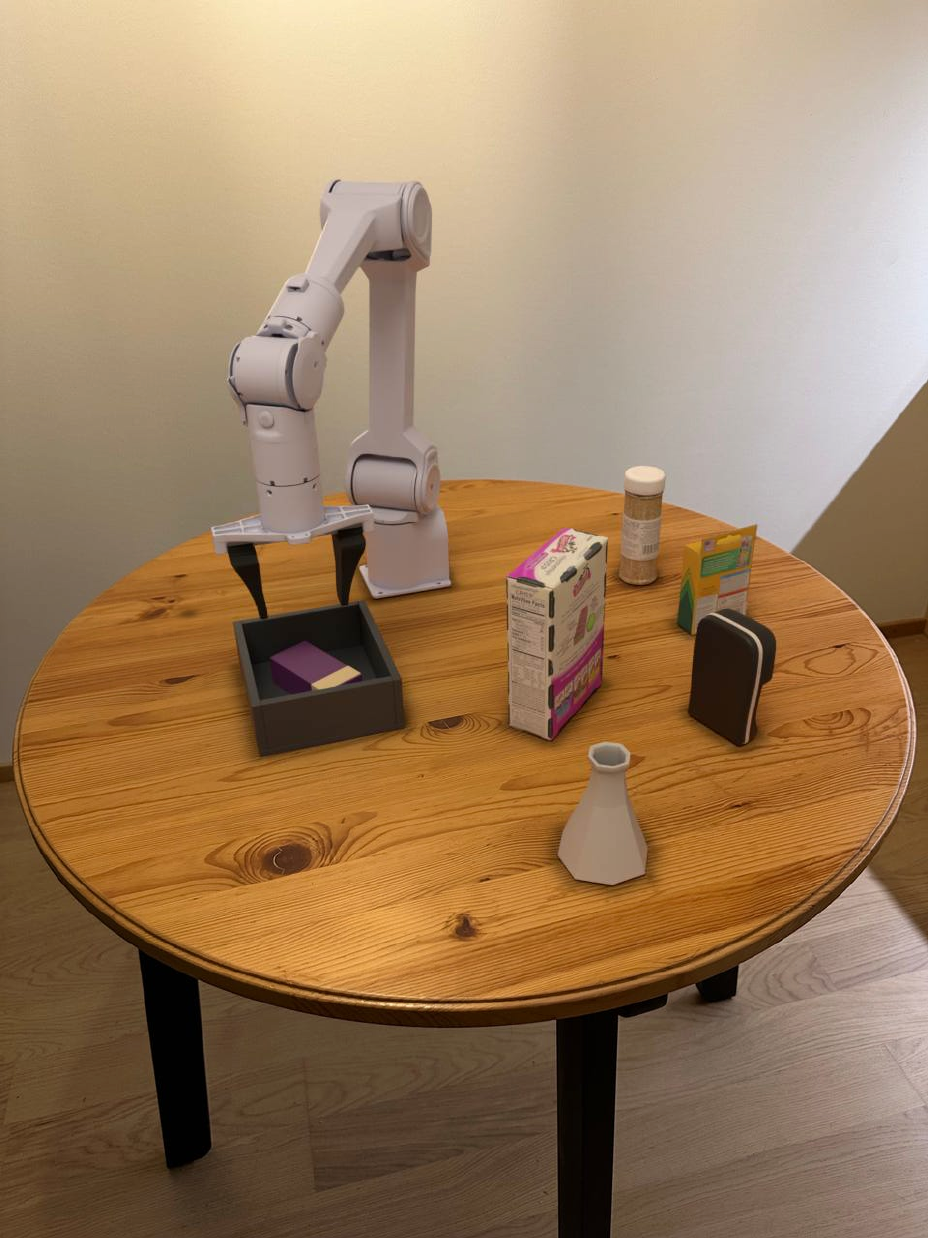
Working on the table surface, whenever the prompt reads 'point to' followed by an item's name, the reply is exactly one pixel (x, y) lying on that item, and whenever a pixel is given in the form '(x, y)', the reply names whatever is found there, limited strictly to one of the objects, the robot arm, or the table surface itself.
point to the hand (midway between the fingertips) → (303, 607)
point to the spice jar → (641, 524)
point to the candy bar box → (555, 631)
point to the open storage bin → (325, 710)
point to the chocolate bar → (309, 669)
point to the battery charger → (730, 672)
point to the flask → (604, 823)
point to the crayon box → (715, 576)
